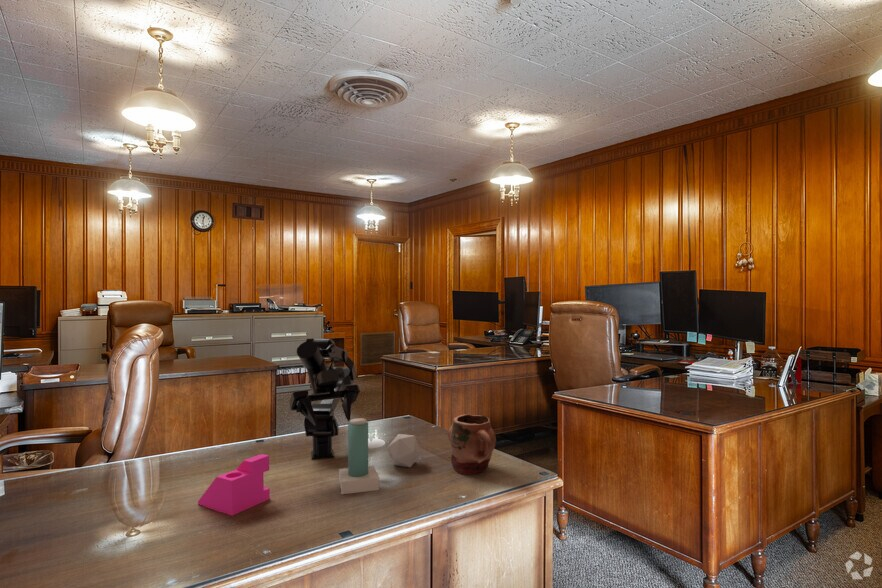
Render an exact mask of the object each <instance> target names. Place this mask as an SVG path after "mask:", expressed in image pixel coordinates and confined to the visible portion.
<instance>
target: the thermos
mask: <svg viewBox="0 0 882 588" xmlns="http://www.w3.org/2000/svg"><path fill="white" fill-rule="evenodd" d="M347 441H348V442H347V444H348V445H347V464H348V465H347V468H348V475H350V476H353V477H361V476H365V475H367V474H368V466H369V421H367V419H366V418H363V417H360V418H359V417H358V418H353V419H352V418H350V421H349V422H348V423H347Z"/></svg>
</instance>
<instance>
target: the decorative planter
mask: <svg viewBox="0 0 882 588" xmlns="http://www.w3.org/2000/svg"><path fill="white" fill-rule="evenodd" d="M447 438H448V441H449V442H450V445H451V457H450V459H451V460H450V461H451V465H452V468H453V470H455V472H457V473H460V474H464V475H470V474H478V473H481V472H484V471H486V470H487V469H488V468H489V464H490V461H491V458H492V456H493V451H494V449H495V448H496V444H497V438H496V432H495V431H494V429H493V428H492V424H491V420H490V418H489V417H488V416H487V415H476V414H475V415H474V414H466V413H465V414H461V415H457V416H456V417H454V418H453V420H452V424H451V426H450V428H449V430H448V431H447Z"/></svg>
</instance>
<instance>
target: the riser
mask: <svg viewBox="0 0 882 588" xmlns="http://www.w3.org/2000/svg"><path fill="white" fill-rule="evenodd" d="M338 474H339V475H338V477H339V478H338V482H339V486H340V488H339V489H340V493H341V495H348V494H354V493H364V492H373V491H380V477H379V475H378V472H377V470H376V468H375V465H368V474H367V475H365V476H361V477H353V476H350V475H348V467H347V468H338Z"/></svg>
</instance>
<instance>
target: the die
mask: <svg viewBox="0 0 882 588" xmlns="http://www.w3.org/2000/svg"><path fill="white" fill-rule="evenodd" d="M386 450H387V452H388V454H389V457H390V459H391V462H392V464H393V466H399V467H406V468H412V466H413V465H414V464H415V462H416V461H418V459H419V458H420V456H421V454H422V449H421V447H420V444H419V442H418V440H417V437H416V435H412V434H402V433H398V434H397V435H396V436H395V437H394V438H393V439H392V441H391V442H390V443H389V444H388V446H387V447H386Z"/></svg>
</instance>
